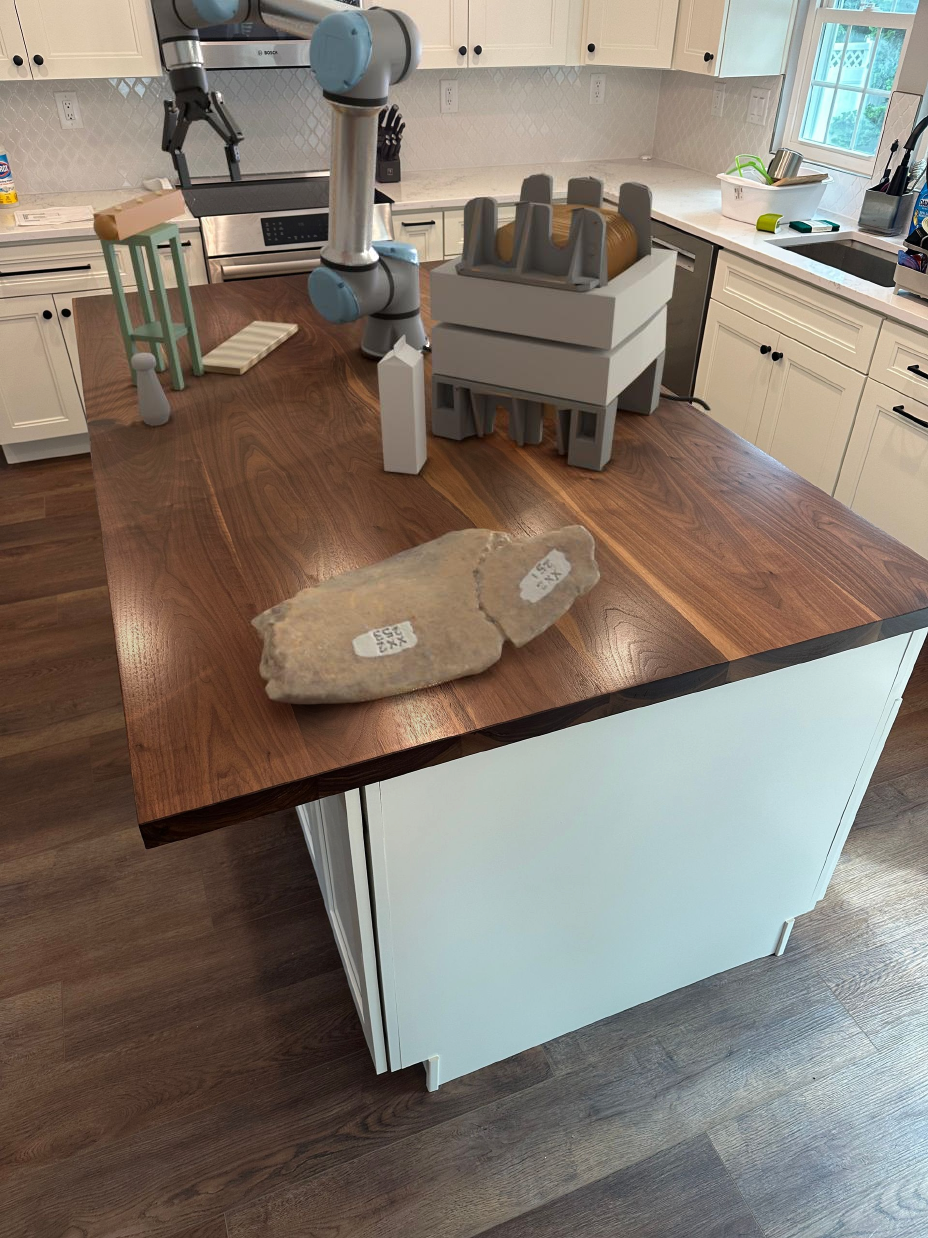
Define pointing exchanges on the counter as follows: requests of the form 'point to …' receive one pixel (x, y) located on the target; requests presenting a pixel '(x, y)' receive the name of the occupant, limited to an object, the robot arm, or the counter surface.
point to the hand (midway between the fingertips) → (211, 184)
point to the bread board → (247, 347)
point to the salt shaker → (150, 391)
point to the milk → (402, 409)
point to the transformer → (551, 318)
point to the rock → (422, 615)
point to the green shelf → (154, 329)
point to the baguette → (138, 214)
